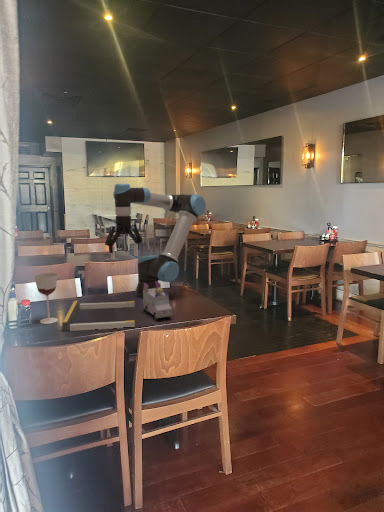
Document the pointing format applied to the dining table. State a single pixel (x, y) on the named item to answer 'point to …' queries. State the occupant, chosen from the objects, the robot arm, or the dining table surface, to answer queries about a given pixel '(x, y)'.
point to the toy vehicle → (156, 302)
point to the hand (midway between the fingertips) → (124, 257)
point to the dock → (99, 325)
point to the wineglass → (46, 290)
